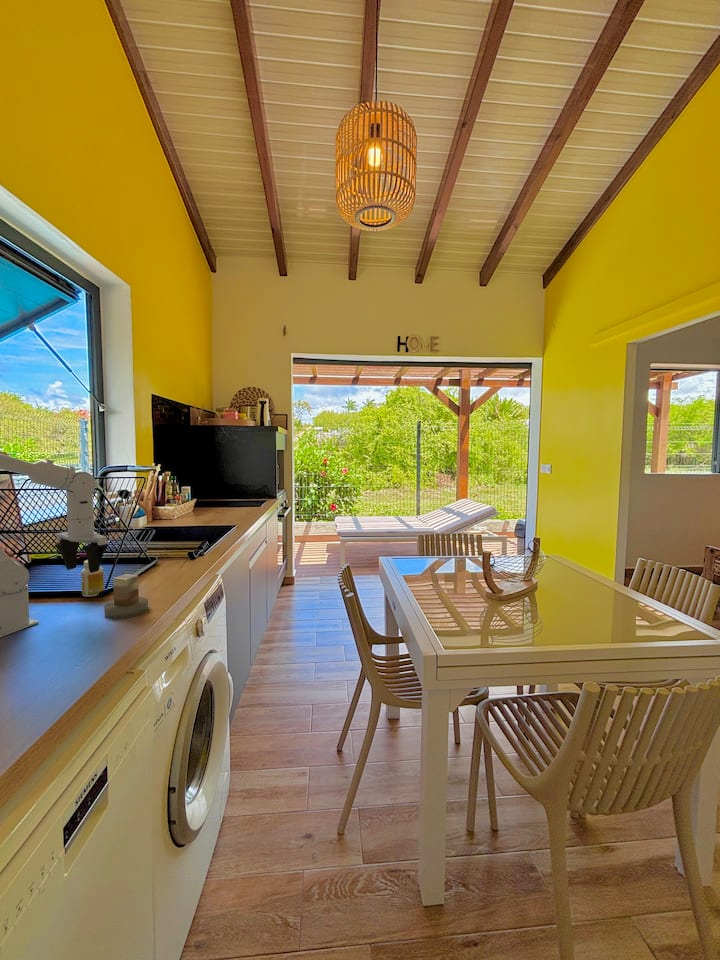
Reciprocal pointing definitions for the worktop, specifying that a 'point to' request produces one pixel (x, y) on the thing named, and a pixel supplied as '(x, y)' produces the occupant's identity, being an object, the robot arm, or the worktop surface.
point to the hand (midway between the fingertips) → (82, 570)
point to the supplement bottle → (92, 581)
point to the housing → (126, 590)
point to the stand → (125, 609)
